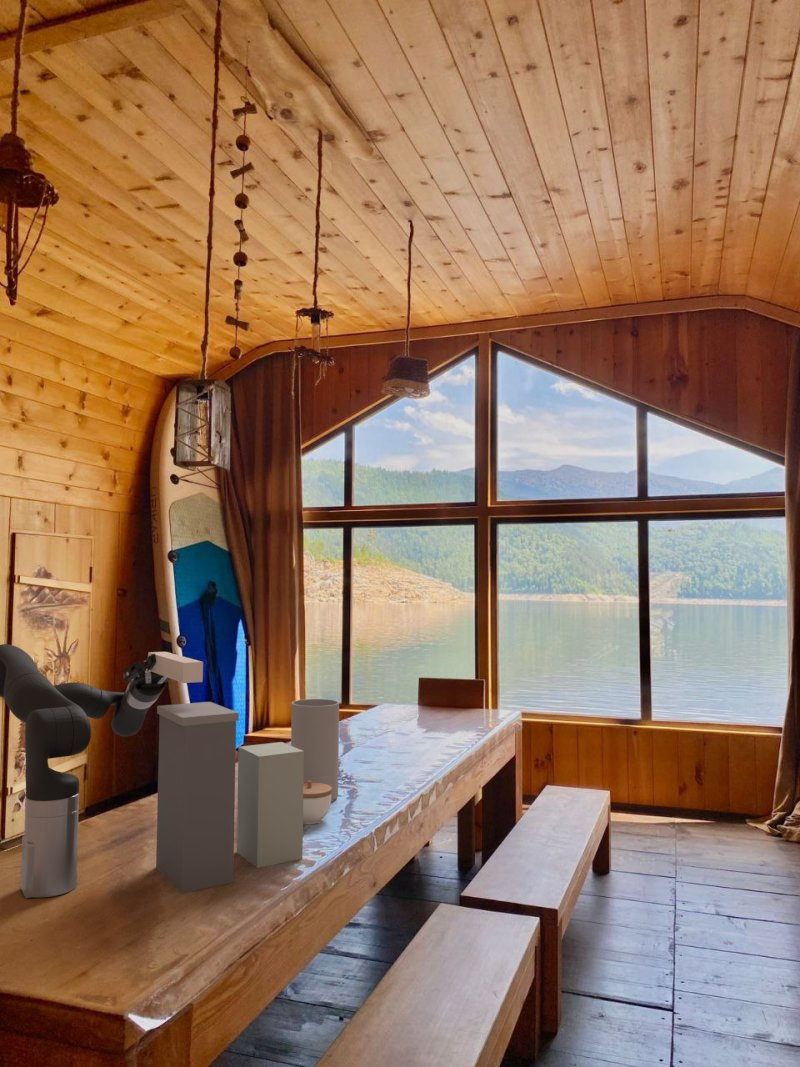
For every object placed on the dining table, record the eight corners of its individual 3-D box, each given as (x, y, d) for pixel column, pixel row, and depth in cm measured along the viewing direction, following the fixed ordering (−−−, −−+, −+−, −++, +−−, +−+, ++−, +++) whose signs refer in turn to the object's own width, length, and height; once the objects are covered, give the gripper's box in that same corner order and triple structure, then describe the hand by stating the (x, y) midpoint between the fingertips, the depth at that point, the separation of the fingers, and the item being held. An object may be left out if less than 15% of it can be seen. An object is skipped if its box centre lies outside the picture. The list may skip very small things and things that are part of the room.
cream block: (183, 683, 162) (183, 662, 162) (147, 670, 183) (148, 652, 183) (202, 681, 164) (203, 661, 165) (165, 669, 185) (165, 651, 186)
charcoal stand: (178, 893, 149) (182, 717, 151) (153, 867, 163) (157, 705, 164) (235, 882, 155) (238, 712, 157) (206, 857, 168) (209, 701, 170)
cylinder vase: (285, 794, 218) (287, 700, 219) (330, 790, 222) (331, 698, 224) (296, 806, 206) (297, 707, 208) (343, 802, 211) (344, 704, 212)
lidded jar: (337, 816, 198) (338, 777, 199) (321, 829, 188) (322, 788, 188) (297, 812, 201) (297, 774, 202) (279, 825, 191) (279, 784, 191)
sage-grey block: (257, 867, 163) (259, 756, 164) (236, 852, 172) (238, 746, 173) (302, 858, 168) (303, 751, 169) (280, 843, 177) (281, 741, 179)
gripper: (112, 675, 189) (130, 642, 177) (172, 671, 197) (193, 640, 185) (115, 705, 186) (134, 674, 174) (177, 700, 194) (198, 670, 182)
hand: (164, 657), depth 180 cm, fingers closed on cream block, 4 cm apart
